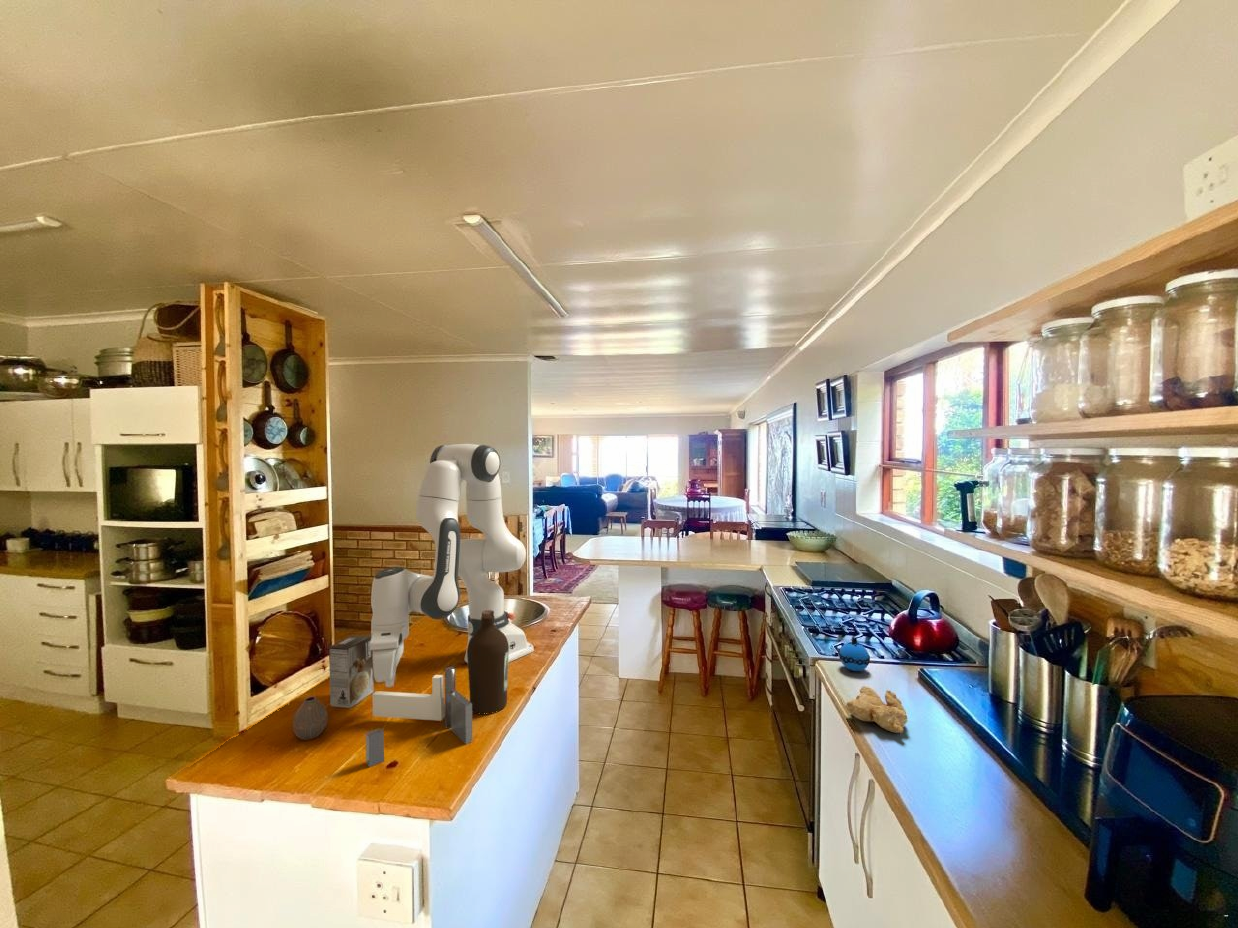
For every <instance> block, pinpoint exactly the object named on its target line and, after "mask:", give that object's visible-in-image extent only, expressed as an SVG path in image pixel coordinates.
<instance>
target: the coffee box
mask: <svg viewBox="0 0 1238 928" xmlns="http://www.w3.org/2000/svg"><path fill="white" fill-rule="evenodd" d="M370 640H371V635H363V634H362V635H361V634H352V635H350V636H348V637H346V638H344V639H342V640H340V641H338V642H336V643H334V644H331V645H330V646H328V657H329V661H328V663H329V664H328V665H329V667H328V669H329V694H330V695H329V696H330V698H329V699H330V700H329V702H330V705H329V706H330V707H336V708H344V709H345V708H346V709H351V708H352V707H354V706H356V705H357V704H359V702H361V701H363V700H364V699H366V698H367V697H369V696H370V695H371V694H374V693H375V692H374V691H375V690H374V684H375V683H374V682H375V680H374V670H373V650H370Z"/></svg>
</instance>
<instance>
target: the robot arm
mask: <svg viewBox="0 0 1238 928" xmlns="http://www.w3.org/2000/svg"><path fill="white" fill-rule="evenodd" d="M500 468H501V457H500V455H499V452H498V451H497V449H495V447H492V446H490V445H485V444H475V443H473V444H472V443H461V444H458V443H455V444H450V443H449V444H448V443H447V444H443V445H442V444H441V445H439V446H437V447H435V449H434V450H433V452H432V453H431V456H430V460H429V465H427V467H426V470H425V471H424V474H423V478H422V481H421V484H420V487H419V490H418V496H417V501H416V507H415V516H416V517H415V518H416V520H417V522H418V523H419V525H420V527H422V528H423V529H424V530H425V531H426V532H427V533H428V534H429V535H430V536H431V537H432V540H433V542H434V544H435V545H434V546H435V555H434V566H433V567H434V568H433V575H432V576H430V575H426V574H422V573H417V572H414V571H410V570H409V569H406V568H405V567H403V566H399V565H398V566H393V567H392V566H391V567H387V568H385V569H382V570H380V571H378V572H377V573H376V574H375V575H374V577H373V580H372V584H371V594H370V595H371V596H370V602H371V604H370V606H371V609H372V616H371V621H370V623H371V624H370V625H371V630H370V636H371V640H370V650H373V679H374V682H376V683H385V687H386V688H392V687H394V685H395V684H394V683H395V681H396V672H397V667H398V665H399V662H400V661H401V658H402V656H403V653H404V649H405V647H404V645H405V644H404V643H405V642H404V640H405V639H407V638H408V637H409V636H410V635H409V634H410V633H409V632H410V631H409V629H410V627H409V625H410V621H409V618H410V616H409V615H410V613H412V612H417V613H419V614H424V615H425V616H427V617H429V618H431V619H433V620H443V619H445V618H448V617H449V616H450V615H452V614H453V613H454V611H455V610H456V609H457V607H458V605H459V603H460V600H461V590H460V583H459V578H460V580H461V581H462V582H463V584H464V586H465V588H466V593H467V597H468V615H467V634H468V639H467V640H468V641H467V647H466V649H467V648H468V644H469V641H470V639H471V638H472V636H473V635H474V634H475V633H476V632H477V631H478V630H479V629H480V627H481V617H482V612H483V611H485V610H493V611H494V625H495V626H496V627H497V628H498V629H499V630H500V631H501V632H502V633H503V634H504V635H505V636H506V638H507V641H508V645H509V655H508V664H509V663H511V662H513V661H515V660H517V659H520V658H522V657H524V656H527V655H528V654H530V653H533V652H534V646H533V644H532V643H531V642H529V641H527V637H526V634H525V632H524V631H523V629H522V628H520V627H518V626H517V625H516V624H513V623H512V622H510V621H512V620H513V621H514V620H515V617H516V615H515V614H514V613H513V612H508V611H505V597H504V595H505V594H504V593H505V591H504V589H503V588H502V586H501V585H500V584H499V583H496V582H494V581H493V580H491V579H490V578H489V577H488V576H487V573H507V572H508V573H509V572H513V571H517V570H520V569H521V568H522V567H523V566H524V563H525V562H526V558H527V550H526V546H525V545H524V544H523V542H522V541H521V540H519V538H517V537H516V536H514V535H513V534H512V533H511V532H510V530H509V528H508V526H507V525H506V522H505V518H504V512H503V501H502V496H503V495H502V486H501V485H502V484H501V480H500V479H501V478H500V474H499V471H500ZM464 481H466V483H465V484H466V486H465V488H466V489H465V501H466V503H465V504H466V507H465V508H466V519H467V521H468V522H467V523H468V524H469V525H470V526H471V527H472V528H474V529H477V530H478V531H480V532H481V533H482V534H484V536H485V538H463V539H461V528H460V524H459V520H458V519H459V516H458V514H459V513H458V512H459V503H460V498H461V497H460V496H461V490H462V489H461V488H462V482H464ZM463 660H464V662H465V663H467V664H468V658H467V650H466V651H465V656H464V658H463Z"/></svg>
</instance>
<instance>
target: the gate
mask: <svg viewBox="0 0 1238 928" xmlns="http://www.w3.org/2000/svg"><path fill="white" fill-rule="evenodd" d="M431 679H432V681H431V683H432V687H431V688H432V689H431V690H432V692H431V693H432V694H430V693H429V694H428V693H412V692H400V691H399V692H397V691H395V692H394V691H381V690H379V691H378V690H376V691H375V692H373V693H372V717H381V718H392V719H393V718H396V719H409V720H411V719H412V720H424V721H436V722H437V721H439V722H442V721H443V719H444V718H445V694H444V674H435V675H433V677H432V678H431Z"/></svg>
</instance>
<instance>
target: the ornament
mask: <svg viewBox="0 0 1238 928" xmlns="http://www.w3.org/2000/svg"><path fill="white" fill-rule="evenodd" d="M857 639H858V638H857V637H852V639H851V641H849V642H846V643H844V644H843V645H842V646H841V647H840V649H839V650H838V658H839V660H840V663H841V664H842V665H843V666H844V667H845V668H847V669H848V670H850V671H851V672H861V671H864V670H866V669H867V667H868V666H869V664H870V661H871V656H870V653H869V651H868V650H867V649H866V647H865V646H863V644H861V643H859V642H857V641H858V640H857Z"/></svg>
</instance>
